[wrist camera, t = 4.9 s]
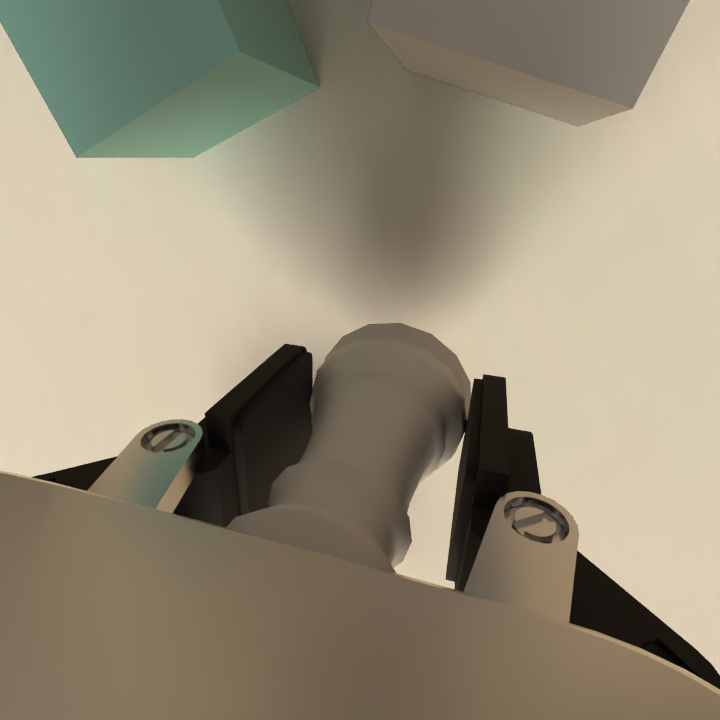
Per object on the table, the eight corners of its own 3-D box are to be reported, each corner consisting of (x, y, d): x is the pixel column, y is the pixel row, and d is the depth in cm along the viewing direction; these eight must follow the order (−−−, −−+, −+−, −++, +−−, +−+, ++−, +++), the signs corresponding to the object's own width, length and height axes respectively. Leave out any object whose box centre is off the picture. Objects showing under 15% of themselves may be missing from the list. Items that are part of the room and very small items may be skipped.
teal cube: (244, -113, 12) (102, -277, 7) (320, 87, 13) (239, 51, 9) (116, -8, 13) (-61, -87, 9) (195, 157, 15) (76, 157, 11)
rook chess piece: (304, 335, 13) (86, 532, 6) (450, 299, 11) (383, 513, 4) (352, 458, 14) (218, 733, 7) (488, 441, 13) (481, 776, 6)
